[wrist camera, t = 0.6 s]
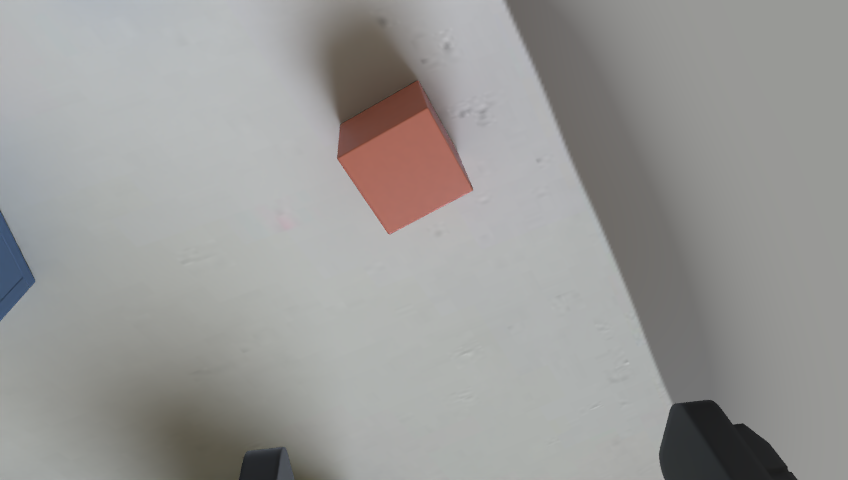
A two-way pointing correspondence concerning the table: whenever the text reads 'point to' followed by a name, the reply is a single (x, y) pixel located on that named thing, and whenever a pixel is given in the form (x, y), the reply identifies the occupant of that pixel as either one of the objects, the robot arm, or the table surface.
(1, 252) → the slate bin
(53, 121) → the table surface
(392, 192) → the terracotta block
